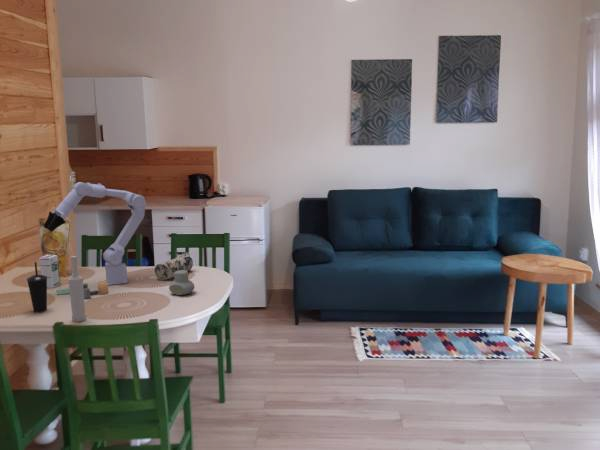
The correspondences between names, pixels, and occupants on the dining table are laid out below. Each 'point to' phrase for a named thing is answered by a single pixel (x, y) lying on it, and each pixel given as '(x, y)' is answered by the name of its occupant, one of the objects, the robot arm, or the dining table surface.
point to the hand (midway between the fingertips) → (47, 229)
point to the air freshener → (181, 283)
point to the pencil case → (173, 266)
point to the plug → (101, 288)
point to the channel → (86, 291)
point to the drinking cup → (38, 291)
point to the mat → (63, 291)
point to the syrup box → (50, 270)
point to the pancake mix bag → (55, 243)
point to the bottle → (76, 293)
